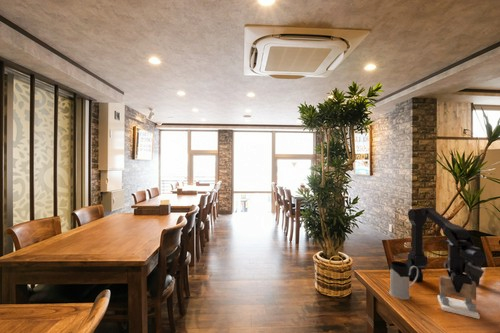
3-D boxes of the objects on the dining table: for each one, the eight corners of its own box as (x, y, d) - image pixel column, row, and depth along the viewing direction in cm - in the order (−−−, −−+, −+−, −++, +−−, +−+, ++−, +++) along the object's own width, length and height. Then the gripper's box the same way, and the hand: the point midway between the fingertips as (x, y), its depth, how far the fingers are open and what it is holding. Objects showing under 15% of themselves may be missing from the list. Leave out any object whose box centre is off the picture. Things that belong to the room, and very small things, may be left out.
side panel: (442, 310, 103) (442, 300, 103) (437, 298, 113) (437, 288, 113) (479, 318, 97) (479, 308, 97) (470, 305, 107) (470, 295, 107)
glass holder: (385, 290, 120) (385, 260, 120) (411, 289, 121) (411, 260, 121) (397, 299, 111) (397, 268, 111) (425, 298, 112) (425, 267, 112)
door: (440, 292, 107) (440, 277, 107) (439, 289, 109) (439, 274, 109) (476, 300, 101) (476, 284, 101) (473, 297, 103) (474, 281, 103)
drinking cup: (486, 287, 123) (486, 249, 123) (469, 286, 124) (469, 248, 124) (475, 281, 130) (475, 245, 130) (459, 279, 132) (460, 244, 132)
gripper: (489, 267, 93) (489, 307, 93) (474, 252, 109) (474, 286, 109) (453, 261, 99) (453, 299, 98) (443, 248, 115) (443, 280, 115)
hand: (456, 290), depth 105 cm, fingers closed on door, 3 cm apart
